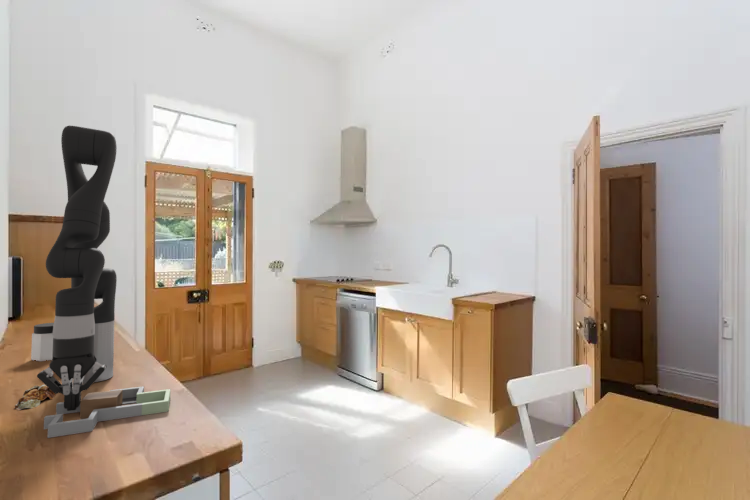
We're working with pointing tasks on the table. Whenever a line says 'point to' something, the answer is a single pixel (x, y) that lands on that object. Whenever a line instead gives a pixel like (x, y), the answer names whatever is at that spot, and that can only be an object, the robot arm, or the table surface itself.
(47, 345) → the jar
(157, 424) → the table surface
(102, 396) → the block
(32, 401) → the pastry
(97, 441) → the table surface
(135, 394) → the track
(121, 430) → the table surface
